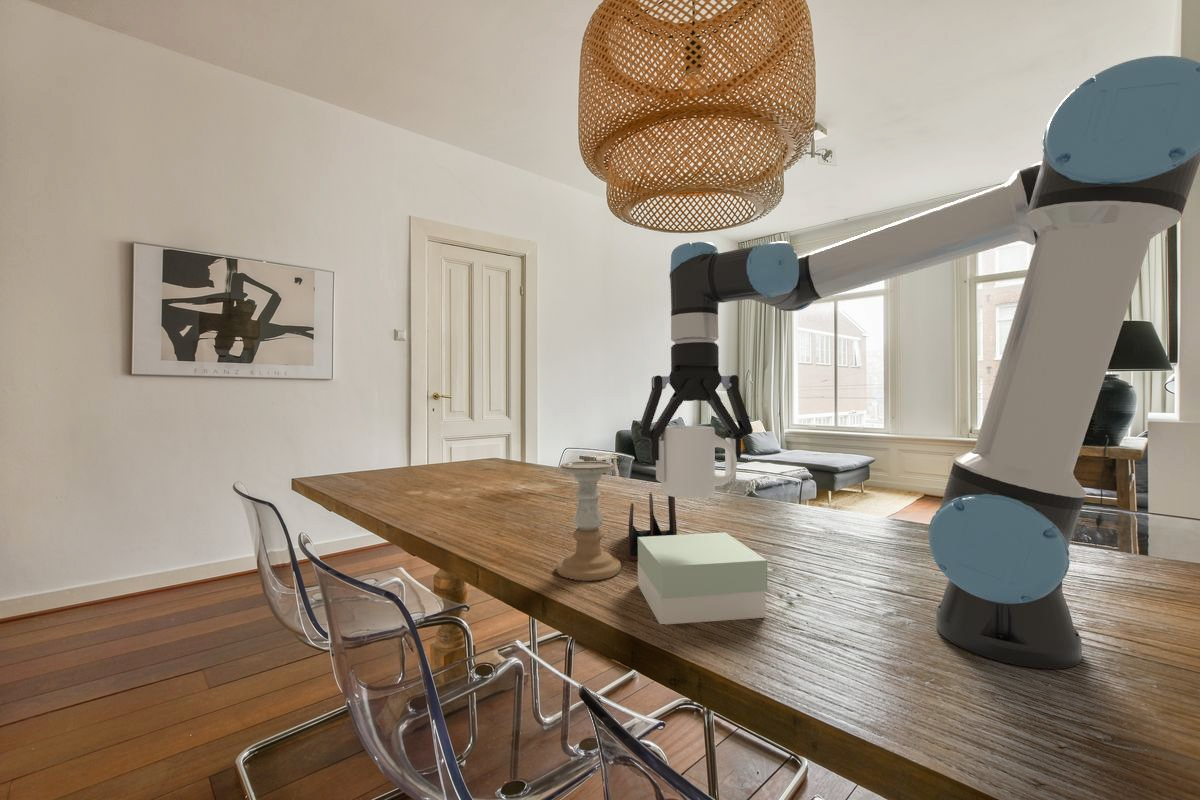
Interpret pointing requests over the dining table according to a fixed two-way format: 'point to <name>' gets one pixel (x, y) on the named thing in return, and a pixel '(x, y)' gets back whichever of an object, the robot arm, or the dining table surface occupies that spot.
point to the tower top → (701, 565)
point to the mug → (692, 461)
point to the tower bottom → (702, 605)
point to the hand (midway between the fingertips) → (695, 479)
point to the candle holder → (588, 527)
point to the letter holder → (653, 528)
